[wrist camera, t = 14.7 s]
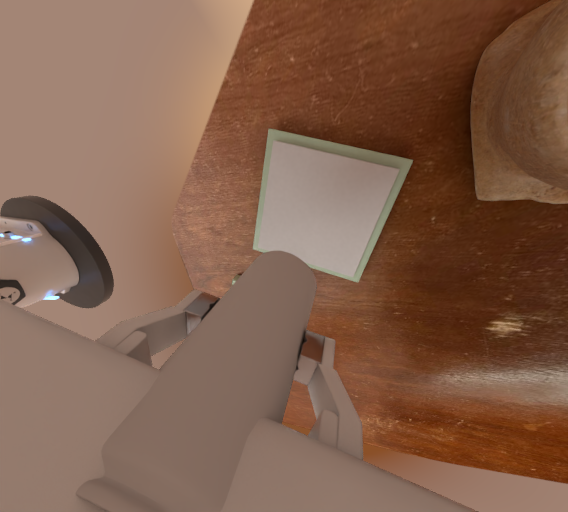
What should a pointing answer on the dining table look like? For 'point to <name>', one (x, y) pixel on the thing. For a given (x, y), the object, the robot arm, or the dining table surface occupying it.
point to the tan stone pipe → (523, 110)
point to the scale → (325, 201)
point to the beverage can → (210, 396)
